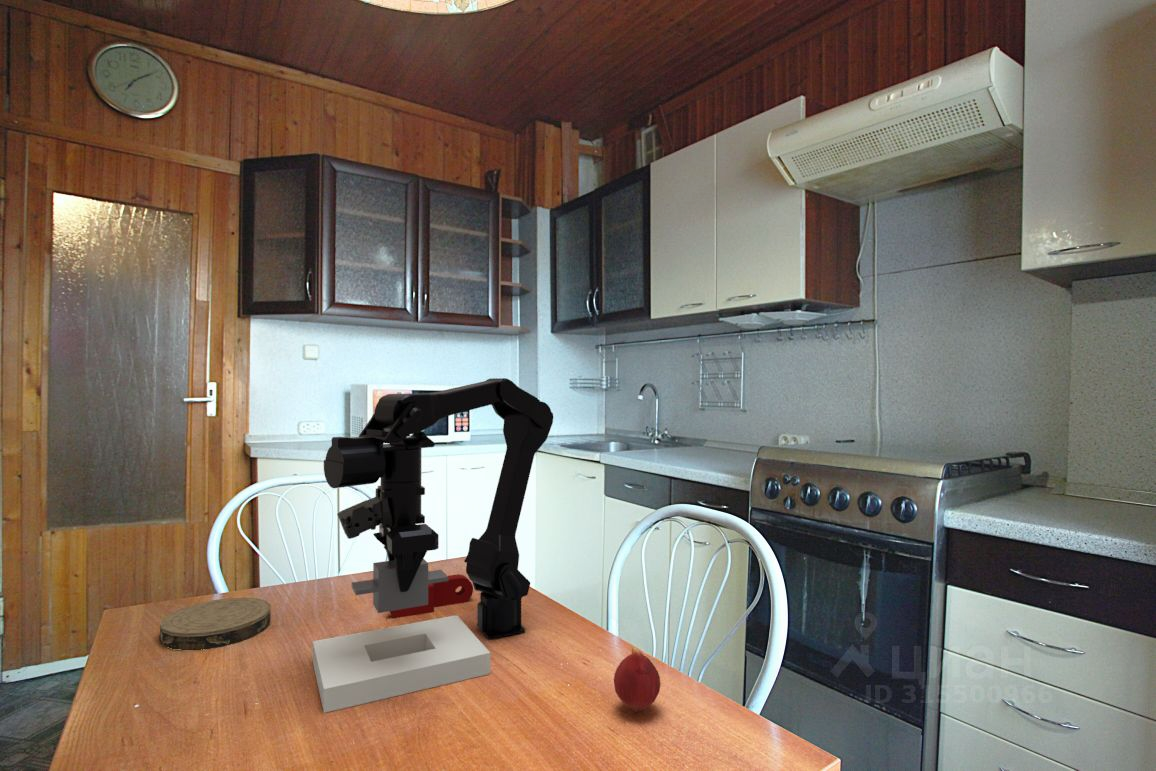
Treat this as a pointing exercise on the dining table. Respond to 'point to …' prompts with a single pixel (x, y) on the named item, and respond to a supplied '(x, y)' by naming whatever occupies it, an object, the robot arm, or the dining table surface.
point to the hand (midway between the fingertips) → (400, 586)
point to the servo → (389, 591)
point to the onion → (637, 681)
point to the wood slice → (215, 623)
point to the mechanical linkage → (441, 596)
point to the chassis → (396, 661)
